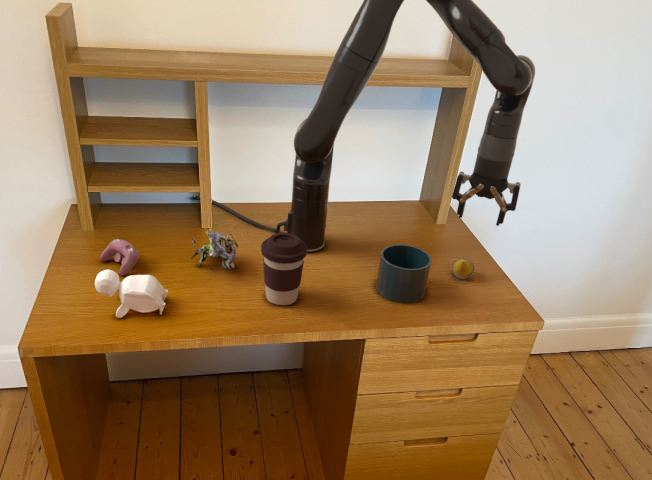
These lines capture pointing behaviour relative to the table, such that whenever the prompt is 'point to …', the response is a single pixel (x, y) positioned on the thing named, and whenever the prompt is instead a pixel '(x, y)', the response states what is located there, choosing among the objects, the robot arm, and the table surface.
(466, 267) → the spiral grooved cone
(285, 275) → the coffee cup
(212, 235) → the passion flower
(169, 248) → the table surface
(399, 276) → the pen pot
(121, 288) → the white turtle figurine
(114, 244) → the video game controller
